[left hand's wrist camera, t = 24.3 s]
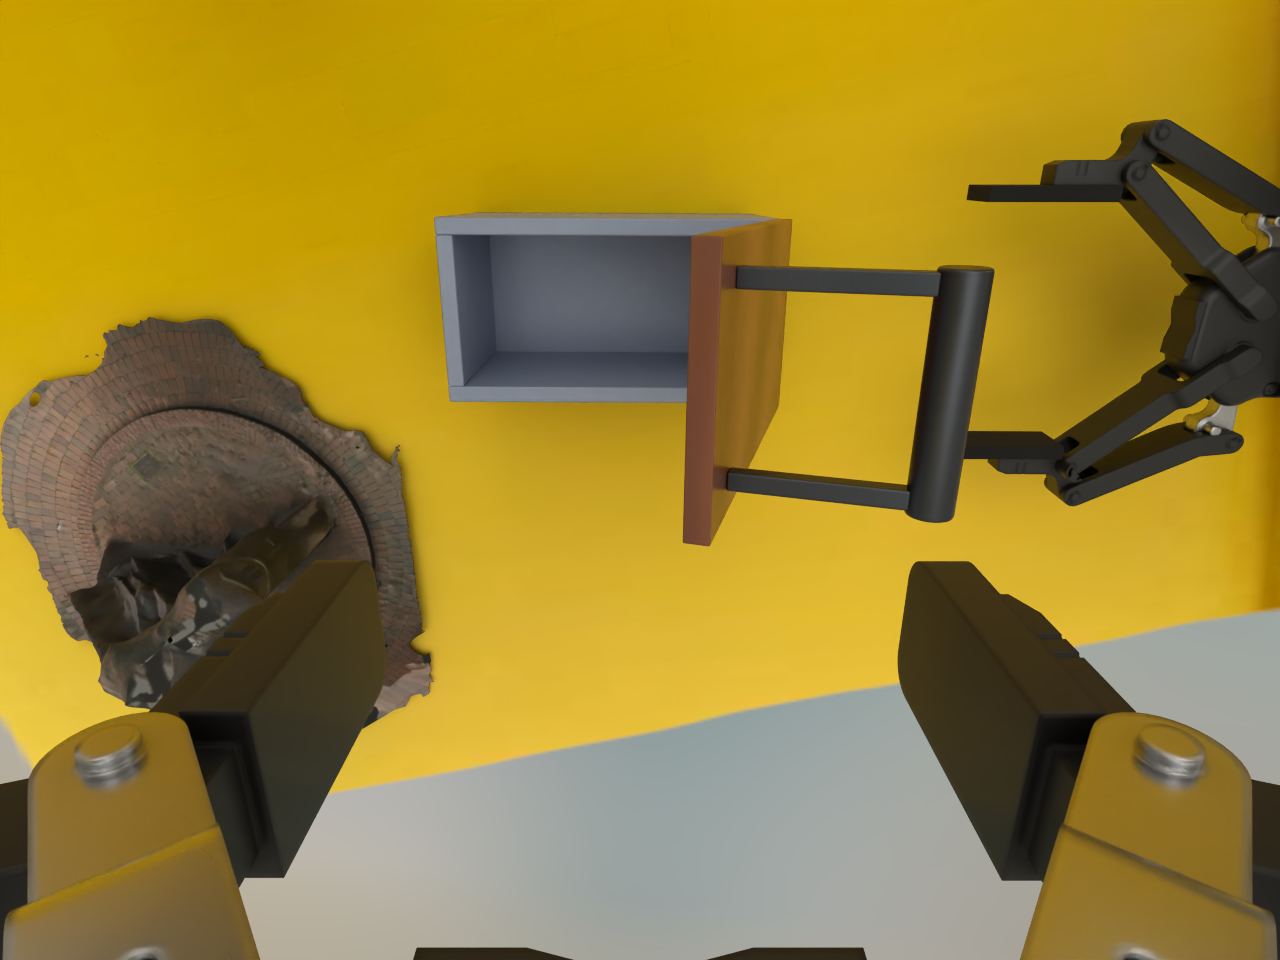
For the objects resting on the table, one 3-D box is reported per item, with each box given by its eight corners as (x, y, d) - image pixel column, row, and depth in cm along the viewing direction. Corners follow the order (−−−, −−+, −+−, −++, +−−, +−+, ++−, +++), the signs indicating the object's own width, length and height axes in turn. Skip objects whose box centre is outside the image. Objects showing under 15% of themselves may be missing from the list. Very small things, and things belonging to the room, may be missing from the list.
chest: (487, 361, 52) (449, 401, 42) (477, 212, 48) (433, 216, 38) (743, 362, 52) (769, 403, 42) (751, 214, 48) (781, 218, 38)
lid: (682, 543, 25) (957, 579, 22) (690, 235, 21) (1015, 241, 19) (761, 405, 41) (925, 418, 39) (773, 218, 38) (953, 221, 36)
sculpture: (496, 392, 52) (439, 470, 37) (413, 778, 64) (344, 954, 49) (1, 260, 49) (-278, 287, 34) (10, 691, 61) (-194, 851, 46)
